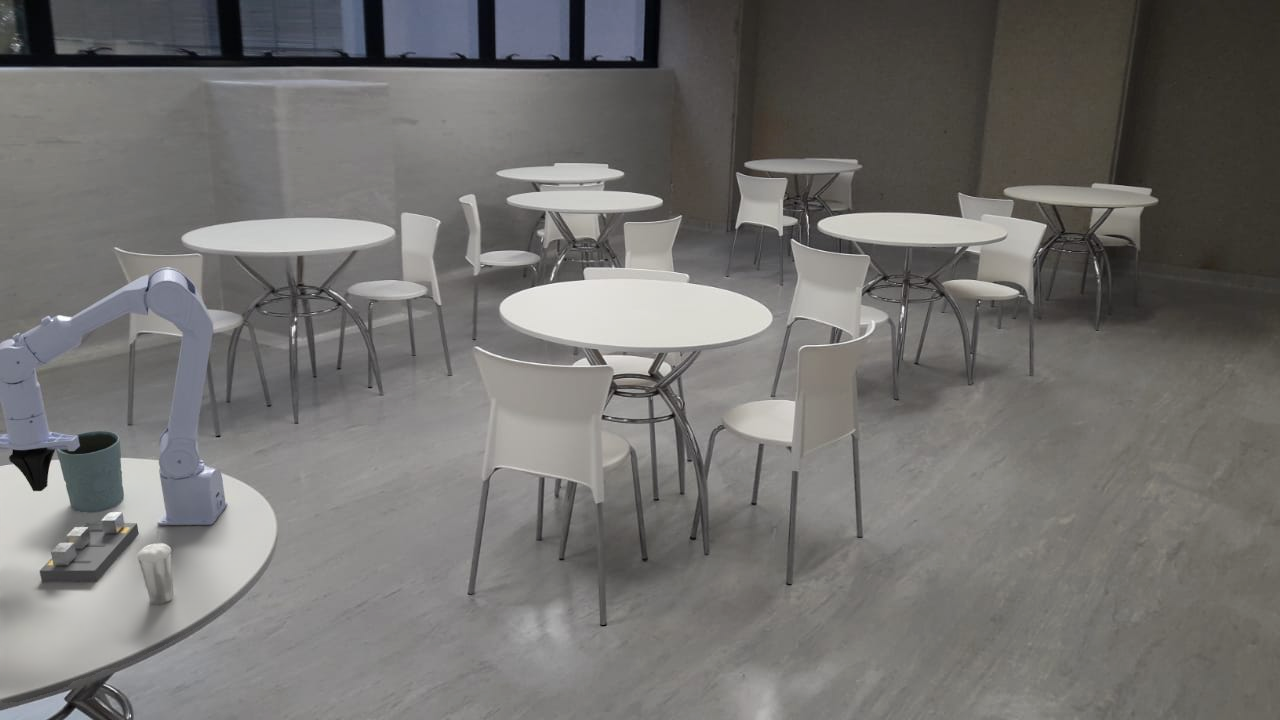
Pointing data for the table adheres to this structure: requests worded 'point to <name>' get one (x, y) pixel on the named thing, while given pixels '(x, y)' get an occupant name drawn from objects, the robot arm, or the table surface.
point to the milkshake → (157, 571)
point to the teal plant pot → (93, 472)
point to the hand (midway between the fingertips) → (40, 488)
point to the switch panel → (92, 555)
